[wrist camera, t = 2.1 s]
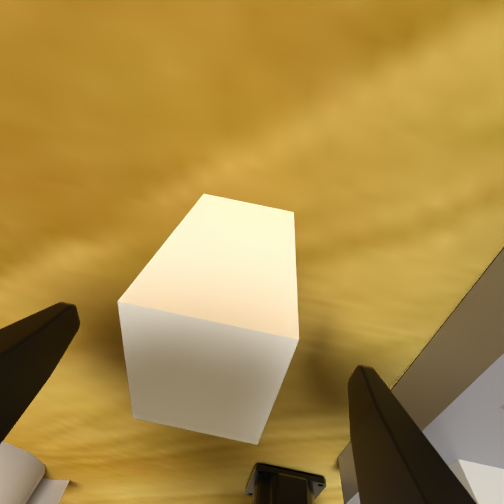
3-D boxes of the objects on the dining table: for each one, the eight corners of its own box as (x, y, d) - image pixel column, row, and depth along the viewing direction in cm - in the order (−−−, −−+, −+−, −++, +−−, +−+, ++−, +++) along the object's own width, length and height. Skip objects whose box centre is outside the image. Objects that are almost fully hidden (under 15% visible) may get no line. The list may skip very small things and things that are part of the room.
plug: (270, 297, 14) (257, 444, 8) (197, 282, 14) (132, 418, 8) (293, 212, 12) (299, 340, 6) (203, 193, 12) (117, 301, 6)
